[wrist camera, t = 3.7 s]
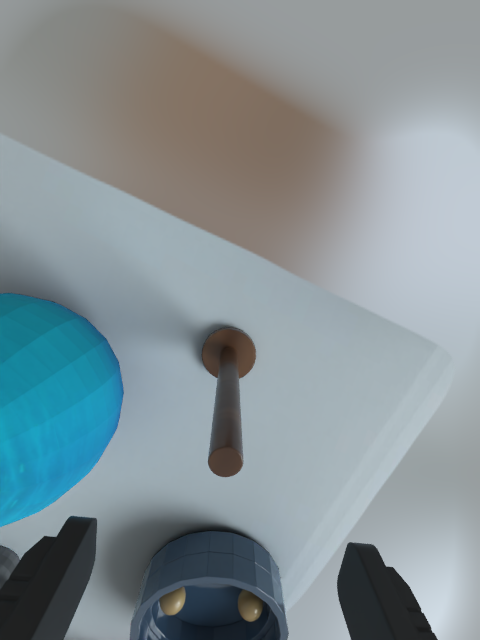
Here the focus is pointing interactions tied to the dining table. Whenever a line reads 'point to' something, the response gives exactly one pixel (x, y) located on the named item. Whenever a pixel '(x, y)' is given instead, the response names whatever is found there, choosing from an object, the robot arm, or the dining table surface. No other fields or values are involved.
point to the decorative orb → (51, 402)
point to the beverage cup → (7, 564)
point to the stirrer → (227, 396)
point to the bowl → (210, 591)
